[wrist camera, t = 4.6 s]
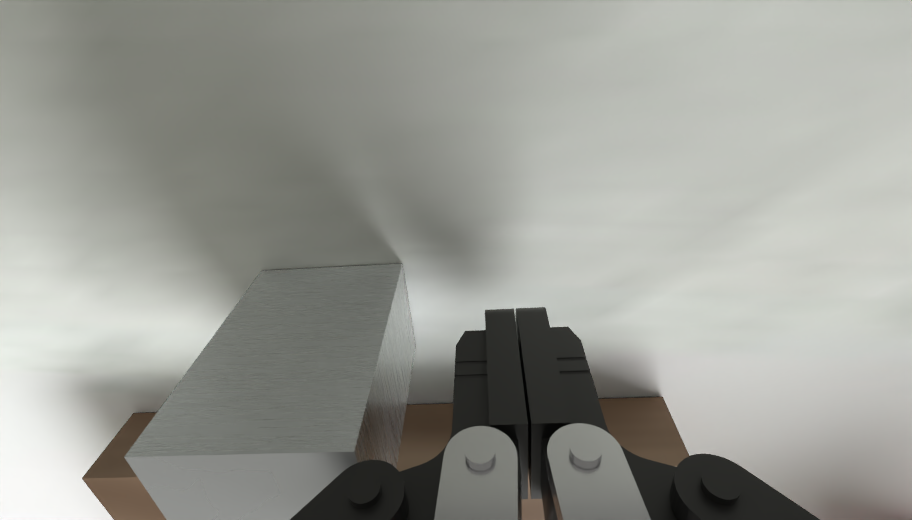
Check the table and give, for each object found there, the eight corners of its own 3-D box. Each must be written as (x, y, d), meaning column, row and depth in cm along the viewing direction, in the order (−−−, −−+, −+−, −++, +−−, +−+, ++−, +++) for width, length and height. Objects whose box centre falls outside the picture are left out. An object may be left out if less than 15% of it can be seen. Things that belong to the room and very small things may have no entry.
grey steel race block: (402, 263, 13) (353, 451, 8) (415, 346, 14) (383, 550, 9) (261, 270, 13) (124, 456, 8) (289, 351, 15) (188, 552, 10)
